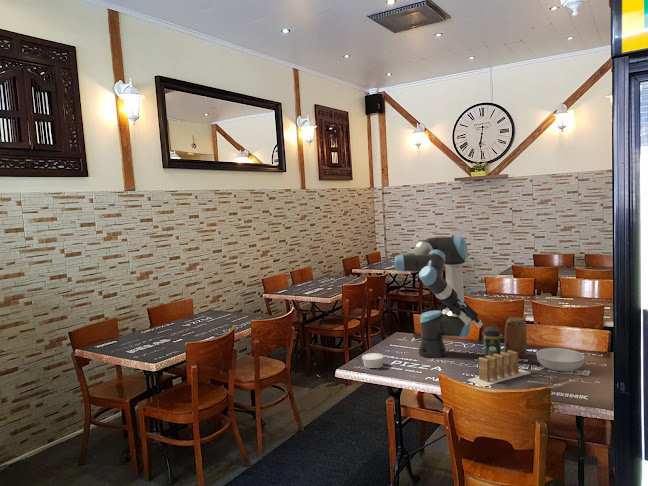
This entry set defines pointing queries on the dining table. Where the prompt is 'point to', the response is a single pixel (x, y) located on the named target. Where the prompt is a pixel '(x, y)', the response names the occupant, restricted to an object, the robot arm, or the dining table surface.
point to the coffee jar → (491, 341)
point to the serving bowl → (560, 359)
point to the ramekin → (373, 360)
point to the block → (516, 336)
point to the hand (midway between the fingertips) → (474, 324)
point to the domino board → (483, 383)
